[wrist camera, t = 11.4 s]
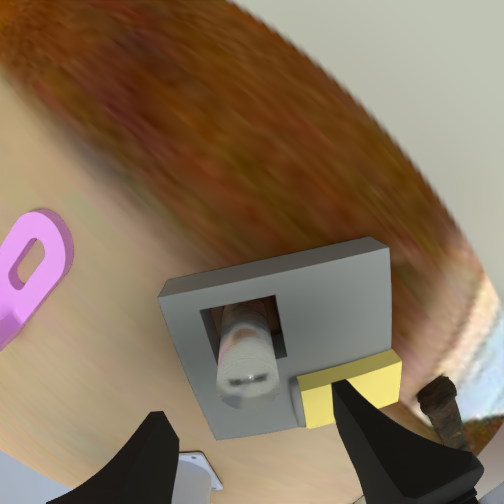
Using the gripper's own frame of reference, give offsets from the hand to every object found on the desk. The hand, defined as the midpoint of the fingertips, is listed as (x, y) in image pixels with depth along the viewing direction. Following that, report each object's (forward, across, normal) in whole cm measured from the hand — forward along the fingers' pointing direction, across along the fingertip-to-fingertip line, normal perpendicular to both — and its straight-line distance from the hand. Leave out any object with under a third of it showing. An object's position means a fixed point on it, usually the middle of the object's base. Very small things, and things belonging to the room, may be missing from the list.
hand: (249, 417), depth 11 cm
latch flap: (+7, -6, +6) cm, 11 cm away
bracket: (+10, +17, -6) cm, 21 cm away
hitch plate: (+10, -2, +3) cm, 11 cm away
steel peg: (+10, 0, 0) cm, 10 cm away
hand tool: (+10, -20, +21) cm, 31 cm away
